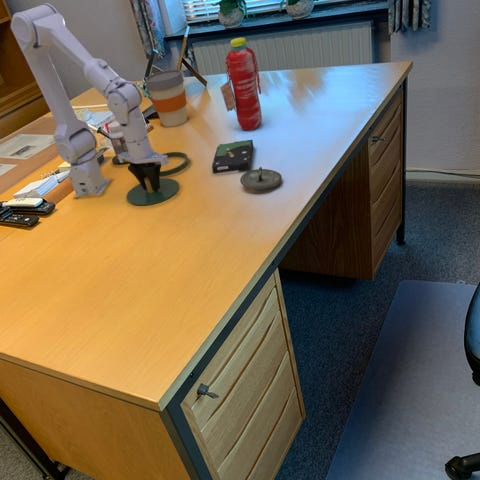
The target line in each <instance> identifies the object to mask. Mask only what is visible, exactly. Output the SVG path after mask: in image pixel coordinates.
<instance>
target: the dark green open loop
mask: <svg viewBox="0 0 480 480" xmlns="http://www.w3.org/2000/svg"><path fill="white" fill-rule="evenodd" d="M161 154H162V155H167V157H168V158H183V159H184V161H183V162H182V163H181V164H180V165H177V166H176V167H173V168H171V169H166V170H162V171H161V170H160V178H162V177H167V176H171V175H175V174H177V173H179V172H180V171H183V170H185V169H186V168H187V166H189V164H190V158H189V155H188V154H187V153H185V152H182V151H172V152H171V151H170V152H165V153H161Z"/></svg>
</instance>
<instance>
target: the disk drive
mask: <svg viewBox="0 0 480 480" xmlns="http://www.w3.org/2000/svg"><path fill="white" fill-rule="evenodd" d="M254 148H255V147H254V142H253V139H248V140H246V139H245V140H240V141H239V140H238V141H237V140H236V141H234V142H228V143H219V145H217V147H216V151H215V153H214V157H213V161H212V165H211V169H212V173H213V174H221V173H230V172H238V173H239V172H245V171H251V168H252V160H253V154H254Z"/></svg>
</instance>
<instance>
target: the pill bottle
mask: <svg viewBox="0 0 480 480" xmlns="http://www.w3.org/2000/svg"><path fill="white" fill-rule="evenodd" d="M107 128H108V131H110V132H109V135H108V137H109V140H110V142H111V145H112V149H113V152H114V154H115V156H116V157H117V159H119V158H118V155H119V154H121V153H122V152H128V149H127V145H126V142H125V139H124V136H123V133H122V130H121V127H120V124H119V123H118V121H112V122H111V123H109V124H108V125H107Z"/></svg>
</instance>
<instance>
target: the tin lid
mask: <svg viewBox="0 0 480 480" xmlns="http://www.w3.org/2000/svg"><path fill="white" fill-rule="evenodd" d="M144 181H145V185H146V188H147V190H144V189H143V187H142V186H141V184H140V183H138V184H136V185H135V186H134V187H132V188H131V189H130V190H129V191H128V192H127V194H126V201H127V203H129V204H130V205H133V206H136V207H149V206H154V205H158V204H160V203H163V202H165V201H168V200H169V199H171V198H173V197H174V196H175V195H177V193H178V192H179V190H180V184H179V181H177V180H176V179H173V178H169V177H160V188H159V189H158V190H157V191H153V189H152V187H151V184H150V181H149V179H148V177H146V178H145V179H144Z"/></svg>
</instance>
